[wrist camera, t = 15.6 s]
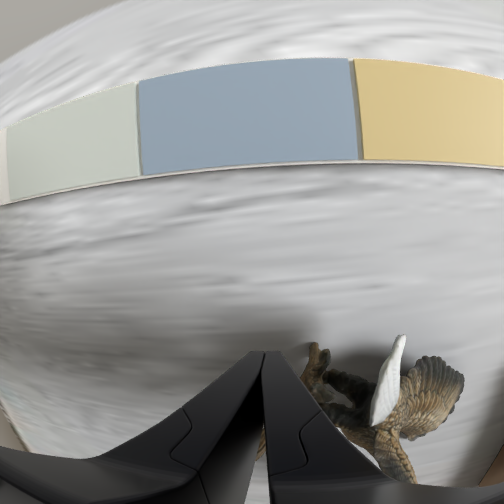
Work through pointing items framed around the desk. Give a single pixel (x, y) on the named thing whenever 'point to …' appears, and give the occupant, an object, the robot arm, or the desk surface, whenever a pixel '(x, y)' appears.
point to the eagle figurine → (384, 404)
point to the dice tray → (495, 471)
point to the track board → (257, 123)
